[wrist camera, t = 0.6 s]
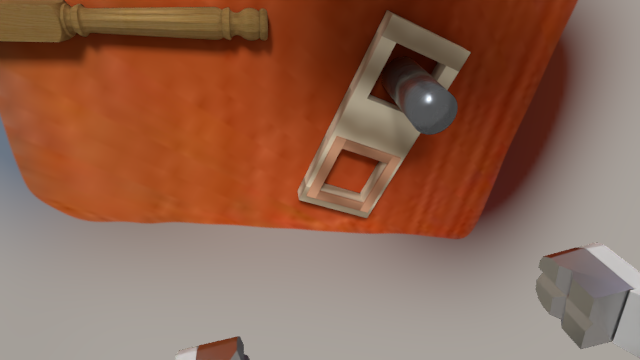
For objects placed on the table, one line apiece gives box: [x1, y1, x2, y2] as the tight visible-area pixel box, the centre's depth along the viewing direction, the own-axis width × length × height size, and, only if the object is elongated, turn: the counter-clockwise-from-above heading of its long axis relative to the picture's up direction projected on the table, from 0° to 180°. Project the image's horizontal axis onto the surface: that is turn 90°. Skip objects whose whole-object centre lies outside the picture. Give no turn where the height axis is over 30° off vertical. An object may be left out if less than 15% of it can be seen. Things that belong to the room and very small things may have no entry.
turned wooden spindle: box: [0, 0, 268, 42], centre depth 36 cm, size 3×3×30 cm
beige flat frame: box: [298, 10, 471, 218], centre depth 47 cm, size 24×10×2 cm, turn 156°
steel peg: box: [382, 57, 457, 134], centre depth 40 cm, size 4×4×10 cm
